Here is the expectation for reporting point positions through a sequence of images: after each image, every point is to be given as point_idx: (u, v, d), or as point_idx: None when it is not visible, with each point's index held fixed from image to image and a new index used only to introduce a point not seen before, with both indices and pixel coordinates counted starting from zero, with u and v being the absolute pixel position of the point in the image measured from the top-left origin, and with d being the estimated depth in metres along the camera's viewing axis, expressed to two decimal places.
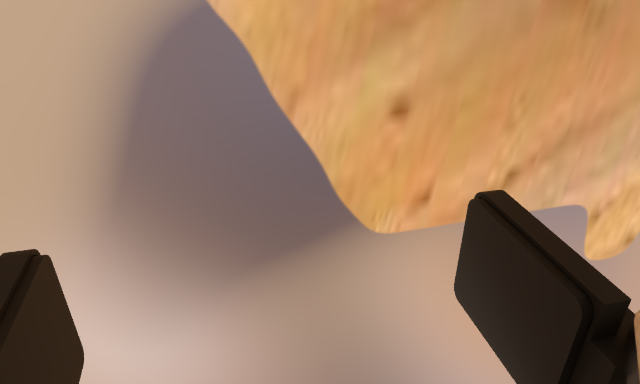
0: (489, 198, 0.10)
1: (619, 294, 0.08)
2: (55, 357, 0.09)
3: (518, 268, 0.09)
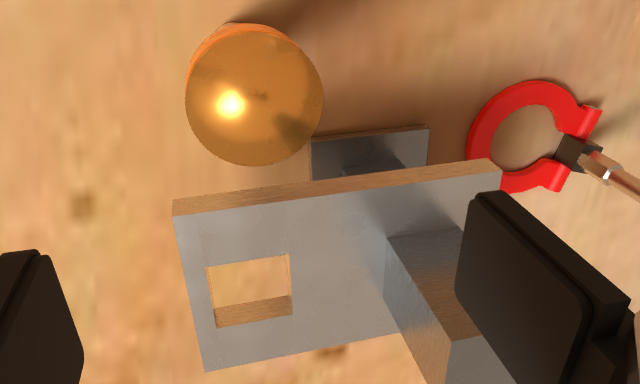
0: (489, 198, 0.10)
1: (619, 294, 0.08)
2: (55, 357, 0.09)
3: (518, 268, 0.09)
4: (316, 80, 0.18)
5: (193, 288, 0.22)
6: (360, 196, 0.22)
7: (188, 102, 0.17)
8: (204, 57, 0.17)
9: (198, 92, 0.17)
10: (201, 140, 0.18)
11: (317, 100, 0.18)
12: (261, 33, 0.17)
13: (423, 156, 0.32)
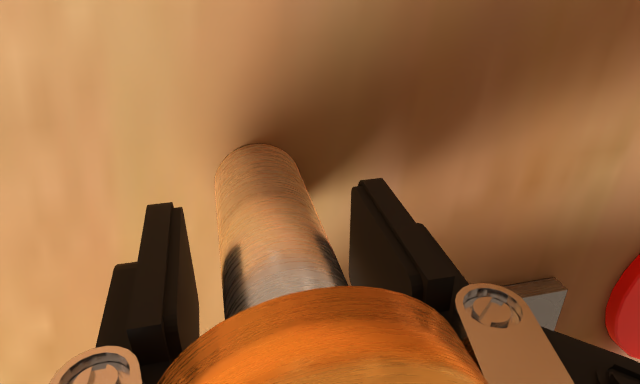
0: (366, 185, 0.11)
1: (445, 271, 0.08)
2: (191, 294, 0.10)
3: (379, 250, 0.10)
4: None
5: None
6: None
7: None
8: None
9: None
10: None
11: None
12: None
13: (551, 327, 0.20)
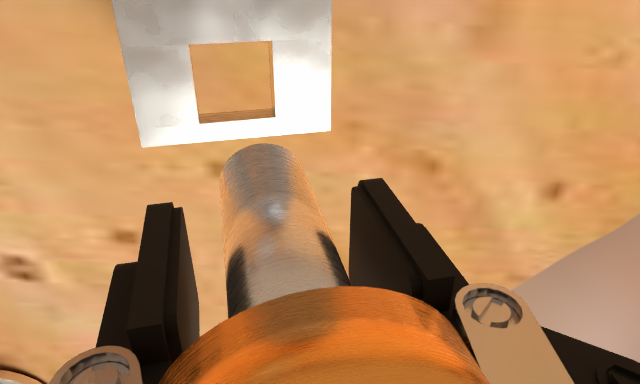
0: (365, 185, 0.11)
1: (446, 270, 0.08)
2: (191, 294, 0.10)
3: (379, 250, 0.10)
4: None
5: (222, 134, 0.25)
6: None
7: None
8: None
9: None
10: None
11: None
12: None
13: None
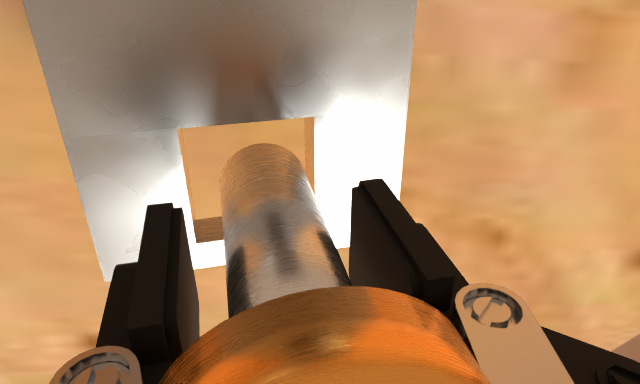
0: (366, 185, 0.11)
1: (445, 271, 0.08)
2: (191, 294, 0.10)
3: (379, 250, 0.10)
4: None
5: None
6: None
7: None
8: None
9: None
10: None
11: None
12: None
13: None
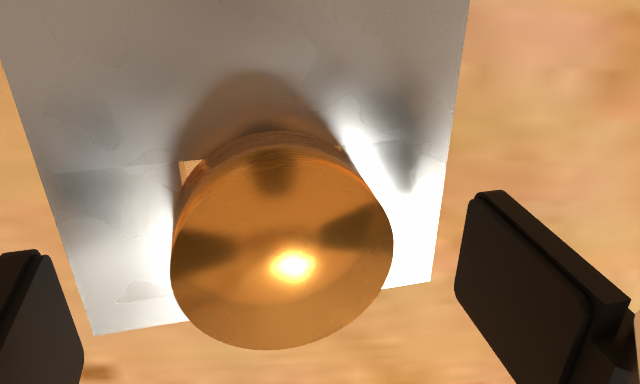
0: (489, 198, 0.10)
1: (619, 294, 0.08)
2: (55, 357, 0.09)
3: (518, 268, 0.09)
4: (385, 228, 0.11)
5: None
6: (2, 5, 0.09)
7: (175, 273, 0.10)
8: (203, 207, 0.10)
9: (192, 258, 0.10)
10: (196, 322, 0.11)
11: (384, 256, 0.11)
12: (301, 165, 0.10)
13: None
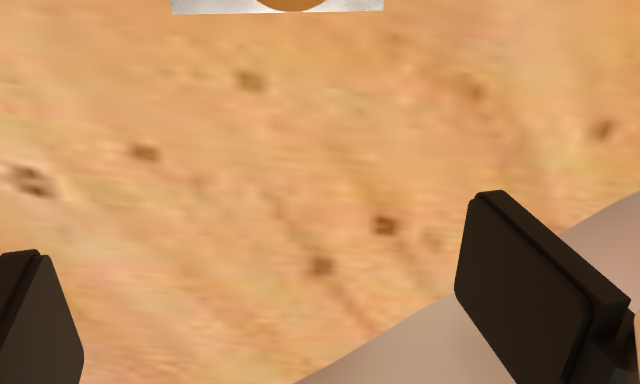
0: (489, 198, 0.10)
1: (619, 294, 0.08)
2: (55, 357, 0.09)
3: (518, 268, 0.09)
4: None
5: (263, 6, 0.22)
6: None
7: None
8: None
9: None
10: None
11: None
12: None
13: None
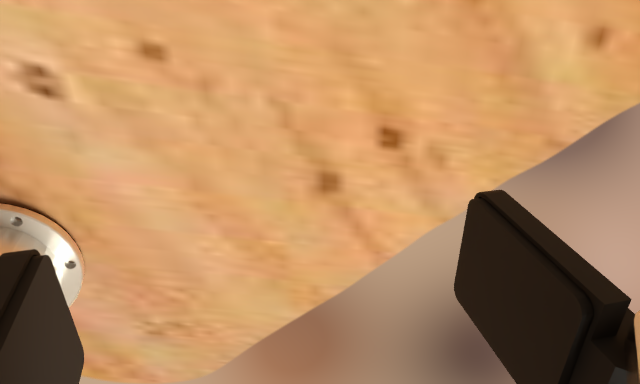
0: (489, 198, 0.10)
1: (618, 294, 0.08)
2: (55, 357, 0.09)
3: (518, 268, 0.09)
4: None
5: None
6: None
7: None
8: None
9: None
10: None
11: None
12: None
13: None
